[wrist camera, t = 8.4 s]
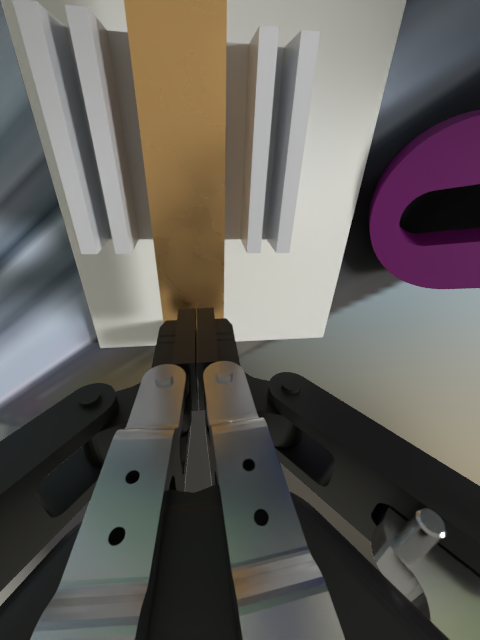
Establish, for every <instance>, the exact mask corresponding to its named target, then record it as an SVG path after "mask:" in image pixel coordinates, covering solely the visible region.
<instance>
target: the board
mask: <svg viewBox="0 0 480 640" xmlns="http://www.w3.org/2000/svg"><path fill="white" fill-rule="evenodd" d="M0 1H1V5H2V8H3V11H4V15H5V18H6V22H7V25H8V29H9V32H10V36H11V39H12V43H13V46H14V50H15V53H16V57H17V60H18V64H19V67H20V71H21V74H22V77H23V81H24V84H25V88H26V91H27V95H28V98H29V102H30V105H31V109H32V112H33V116H34V119H35V123H36V126H37V130H38V133H39V137H40V140H41V143H42V147H43V150H44V154H45V157H46V161H47V164H48V168H49V171H50V175H51V178H52V182H53V185H54V189H55V192H56V196H57V199H58V202H59V206H60V209H61V213H62V216H63V220H64V223H65V227H66V230H67V234H68V237H69V241H70V244H71V248H72V251H73V255H74V258H75V262H76V265H77V268H78V272H79V275H80V279H81V282H82V286H83V289H84V293H85V296H86V300H87V303H88V307H89V310H90V314H91V317H92V321H93V324H94V328H95V331H96V334H97V338H98V341H99V345H100V348H111V347H131V346H152V345H156V344H157V338H158V333H159V328H160V327H161V325H162V324H163V315H162V307H161V299H160V291H159V283H158V274H157V266H156V258H155V250H154V242H153V234H152V226H151V218H150V209H149V201H148V193H147V185H146V177H145V169H144V161H143V153H142V144H141V136H140V128H139V120H138V112H137V104H136V96H135V88H134V79H133V71H132V63H131V55H130V47H129V39H128V31H127V23H126V14H125V6H124V0H0ZM406 1H407V0H227V44H226V145H225V246H224V318H226V319H227V320H228V321H229V322H230V323H231V324H232V326H233V331H234V336H235V341H255V340H276V339H295V338H317V337H323V335H324V331H325V327H326V323H327V319H328V315H329V311H330V307H331V303H332V299H333V295H334V291H335V287H336V283H337V279H338V275H339V271H340V267H341V263H342V259H343V255H344V251H345V247H346V243H347V239H348V235H349V231H350V227H351V222H352V218H353V214H354V210H355V206H356V202H357V198H358V194H359V190H360V186H361V182H362V178H363V174H364V170H365V166H366V162H367V158H368V154H369V150H370V146H371V142H372V138H373V134H374V130H375V126H376V122H377V118H378V114H379V110H380V106H381V102H382V97H383V93H384V89H385V85H386V81H387V77H388V73H389V69H390V65H391V61H392V57H393V53H394V49H395V45H396V41H397V37H398V33H399V29H400V25H401V21H402V17H403V13H404V9H405V5H406Z"/></svg>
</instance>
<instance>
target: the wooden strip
mask: <svg viewBox="0 0 480 640" xmlns="http://www.w3.org/2000/svg"><path fill="white" fill-rule="evenodd" d="M124 6H125V14H126V23H127V31H128V39H129V47H130V55H131V63H132V71H133V79H134V88H135V96H136V104H137V112H138V120H139V128H140V136H141V144H142V153H143V161H144V169H145V177H146V185H147V193H148V201H149V209H150V218H151V226H152V234H153V242H154V250H155V258H156V266H157V274H158V283H159V291H160V299H161V307H162V315H163V323H164V322H165V321H166V320H177V315H178V309H180V308H195V309H196V325H197V308H210V307H214V316H215V319H220V318H224V246H225V145H226V44H227V0H124Z"/></svg>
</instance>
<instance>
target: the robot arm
mask: <svg viewBox="0 0 480 640" xmlns="http://www.w3.org/2000/svg"><path fill="white" fill-rule="evenodd" d="M198 390H199V407H200V410H205V429H206V438H207V447H208V455H209V464H210V473H211V482H212V486H211V487H209V488H206V489H204V490H201V491H198V492H195V493H189V492H185V478H186V469H187V460H188V450H189V441H190V431H191V430H190V429H191V428H190V426H191V421H192V411H198ZM80 447H81V448H80ZM75 451H76V452H75ZM74 452H75V453H74ZM73 453H74V454H73ZM68 457H69V458H68ZM67 458H68V459H67ZM62 462H63V463H62ZM61 463H62V464H61ZM280 463H281V464H283V465H284V466H285V467H286V468H287V469H288V470H289V471H291V472H292V473H293V474H294V475H295V476H296V477H298V478H299V479H300V480H301V481H302V482H303V483H304V484H305V485H307V486H308V487H309V488H310V489H311V490H312V491H313V492H315V493H316V494H317V495H318V496H319V497H321V499H323V500H324V501H325V502H326V503H327V504H328V505H329V506H331V507H332V508H333V509H334V510H335V511H336V512H337V513H339V514H340V515H341V516H342V517H343V518H344V519H346V520H347V521H348V522H349V523H350V524H351V525H352V526H354V527H355V528H356V529H357V530H358V531H359V532H360V533H361V534H363V535H364V536H365V537H366V538H367V539H368V540H369V541H371V549H372V553H373V557H374V559H375V562H376V564H377V565H378V567H379V569H380V571H381V572H380V571H379V570H378V569H376V568H375V567H374V566H373V565H372V564H371V563H370V562H369V561H368V560H367V559H366V558H365V557H364V556H363V555H362V554H361V553H360V552H359V551H358V550H357V549H356V548H355V547H354V546H353V545H352V544H350V542H349V541H348V540H347V539H345V537H343V536H342V535H341V534H340V533H339V532H338V531H337V530H336V529H335V528H334V527H333V526H332V525H331V524H330V523H329V522H328V521H327V520H326V519H325V518H324V517H323V516H322V515H321V514H320V513H319V512H318V511H317V510H316V509H315V508H313V507H312V506H311V505H310V504H309V503H307V502H306V501H305V500H304V499H302V498H300V497H299V496H297V495H296V494H294V493H292V492H289V489H288V486H287V483H286V480H285V477H284V474H283V471H282V468H281V465H280ZM56 467H57V468H56ZM55 468H56V469H55ZM54 469H55V470H54ZM49 473H50V474H49ZM48 474H49V475H48ZM89 501H90V502H89ZM88 502H89V505H88V508H87V511H86V513H85V516H84V519H83V521H82V522H80V523H79V524H78V525H76V526H75V527H74V528H73V529H72V530H71V531H70V532H69V533H67V534H66V535H65V536H64V537H63V538H62V539H61V540H60V541H59V543H58V544H57V545H56V546H55V547H54V548H53V549H52V550H51V551H50V552H49V553H48V555H47V556H46V557H45V558H44V559H43V560H42V561H41V562H40V564H38V565H37V567H36V568H35V569H34V570H33V571H32V572H31V573H30V574H29V575H28V576H27V578H26V579H25V580H24V581H23V582H22V583H21V584H20V585H19V586H18V587H17V588H16V590H15V591H14V592H13V593H12V594H11V595H10V596H9V597H8V598H7V599H6V600H5V602H4V603H3V604H2V605H1V606H0V640H480V486H479V485H477V484H475V483H474V482H472V481H471V480H469V479H467V478H466V477H464V476H462V475H461V474H459V473H458V472H456V471H454V470H453V469H451V468H449V467H448V466H446V465H445V464H443V463H441V462H439V461H438V460H437V459H435V458H433V457H431V456H430V455H428V454H427V453H425V452H424V451H422V450H420V449H419V448H417V447H415V446H414V445H412V444H411V443H409V442H407V441H406V440H404V439H403V438H401V437H399V436H397V435H396V434H395V433H393V432H391V431H390V430H388V429H386V428H385V427H383V426H382V425H380V424H378V423H377V422H375V421H373V420H372V419H370V418H369V417H367V416H365V415H364V414H362V413H361V412H359V411H357V410H356V409H354V408H352V407H351V406H349V405H348V404H346V403H344V402H343V401H341V400H339V399H338V398H336V397H334V396H333V395H331V394H329V393H328V392H326V391H325V390H323V389H322V388H320V387H318V386H317V385H315V384H314V383H312V382H310V381H309V380H307V379H306V378H304V377H302V376H300V375H298V374H295V373H290V372H282V373H279V374H276V375H275V376H273V377H272V378H271V380H270V381H267V380H261V379H257V378H253V377H251V376H249V375H248V374H246V373H245V372H244V370H243V369H242V368H241V366H240V363H239V357H238V352H237V347H236V342H235V336H234V331H233V326H232V324H231V323H230V322H229V321H228V320H227V319H226V318H220V319H215V316H214V307H210V308H197V325H196V309H195V308H180V309H178V315H177V320H166V321H165V322H164V323H163V324H162V325H161V327H160V328H159V333H158V338H157V344H156V348H155V353H154V358H153V363H152V368H151V369H150V370H149V371H147V372H146V373H145V375H144V376H143V378H142V381H141V383H139V384H137V385H135V386H133V387H130V388H127V389H123V390H120V391H117V392H115V390H114V389H113V387H111V386H110V385H108V384H104V383H95V384H90V385H86V386H84V387H81V388H79V389H78V390H76V391H75V392H73V393H72V394H70V395H69V396H67V397H66V398H64V399H63V400H61V401H60V402H58V403H57V404H55V405H54V406H52V407H51V408H49V409H48V410H46V411H45V412H43V413H42V414H40V415H39V416H37V417H36V418H34V419H33V420H31V421H30V422H29V423H27V424H26V425H24V426H23V427H21V428H20V429H18V430H17V431H15V432H14V433H12V434H11V435H10V436H8V437H6V438H5V439H3V440H2V441H0V591H1V590H2V589H3V588H4V587H5V586H6V585H7V584H8V583H9V582H10V581H11V580H12V579H13V578H14V577H15V576H16V575H17V574H18V573H19V572H20V571H21V570H22V569H23V568H24V567H25V566H26V565H27V564H28V563H29V562H30V561H31V560H32V559H33V558H34V557H35V556H36V554H38V553H39V552H40V550H42V549H43V548H44V547H45V546H46V545H47V544H48V543H49V542H50V540H51V539H52V538H53V537H54V536H55V535H56V534H57V533H58V532H59V531H60V530H61V529H62V528H63V527H64V526H65V525H66V524H67V523H68V522H69V521H70V520H71V519H72V518H73V517H74V516H75V515H76V514H77V513H78V512H79V511H80V510H81V509H82V508H83V507H84V506H85V505H86V504H87V503H88Z"/></svg>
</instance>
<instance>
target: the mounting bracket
mask: <svg viewBox="0 0 480 640" xmlns="http://www.w3.org/2000/svg"><path fill="white" fill-rule="evenodd" d="M476 184H480V109H479V110H475V111H471V112H467V113H463V114H460V115H457V116H454V117H452V118H449V119H447V120H444V121H442V122H440V123H438V124H436V125H434V126H433V127H431V128H429V129H428V130H426V131H424V132H423V133H421V134H420V135H419V136H417V137H416V138H414V139H413V140H412V141H411V142H410V143H408V144H407V145H406V146H405V147H404V148H403V149H402V150H401V151H400V152H399V153H398V154H397V155H396V156H395V157H394V158H393V160H392V161H391V162H390V163H389V165H388V166H387V167H386V169H385V170H384V172H383V173H382V175H381V177H380V178H379V181H378V183H377V185H376V187H375V190H374V193H373V196H372V199H371V203H370V209H369V229H370V238H371V243H372V246H373V249H374V252H375V254H376V256H377V258H378V259H379V261H380V262H381V264H382V265H383V266H384V267H385V268H386V269H387V270H388V271H389V272H390V273H391V274H393V275H394V276H396V277H397V278H399V279H401V280H403V281H405V282H407V283H410V284H413V285H416V286H420V287H425V288H433V289H460V288H461V289H462V288H480V227H478V228H468V229H458V230H448V231H438V232H428V233H410V232H407V231H405V230H404V229H402V228H401V227H400V226H399V222H400V218H401V215H402V213H403V211H404V210H405V208H406V207H407V206H408V205H409V204H410V203H411V202H412V201H413V200H414V199H416V198H417V197H419V196H420V195H422V194H425V193H427V192H430V191H435V190H442V189H449V188H455V187H462V186H469V185H476Z"/></svg>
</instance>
